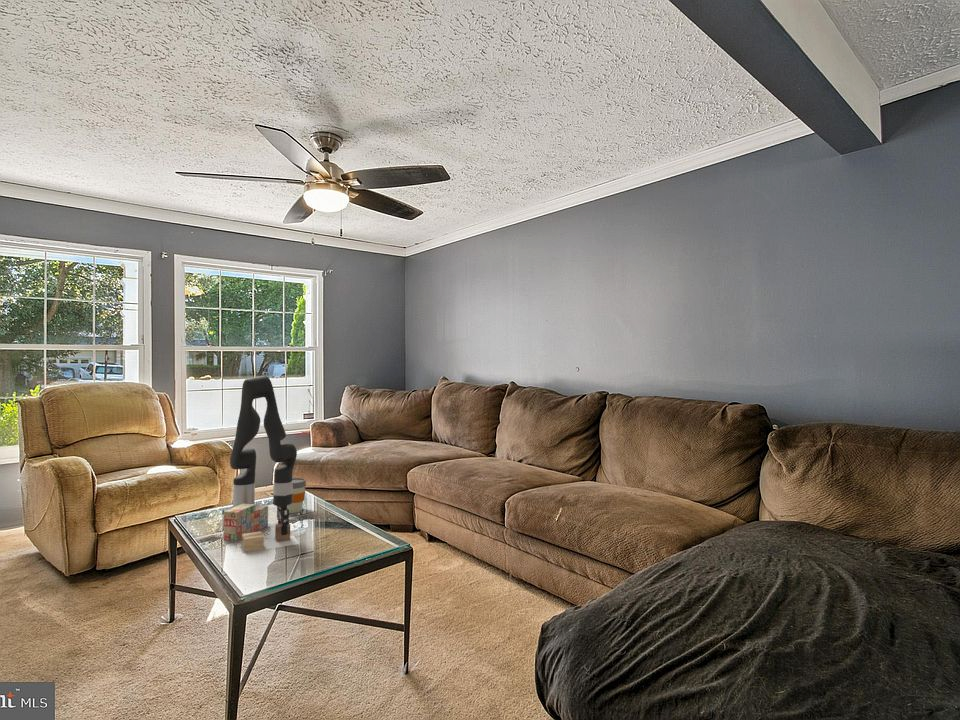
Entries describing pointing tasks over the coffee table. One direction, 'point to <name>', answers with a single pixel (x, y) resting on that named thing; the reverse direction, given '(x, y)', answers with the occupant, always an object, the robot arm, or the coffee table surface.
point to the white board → (273, 544)
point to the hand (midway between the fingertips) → (282, 531)
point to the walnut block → (279, 536)
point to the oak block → (252, 541)
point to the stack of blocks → (244, 520)
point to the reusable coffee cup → (297, 495)
